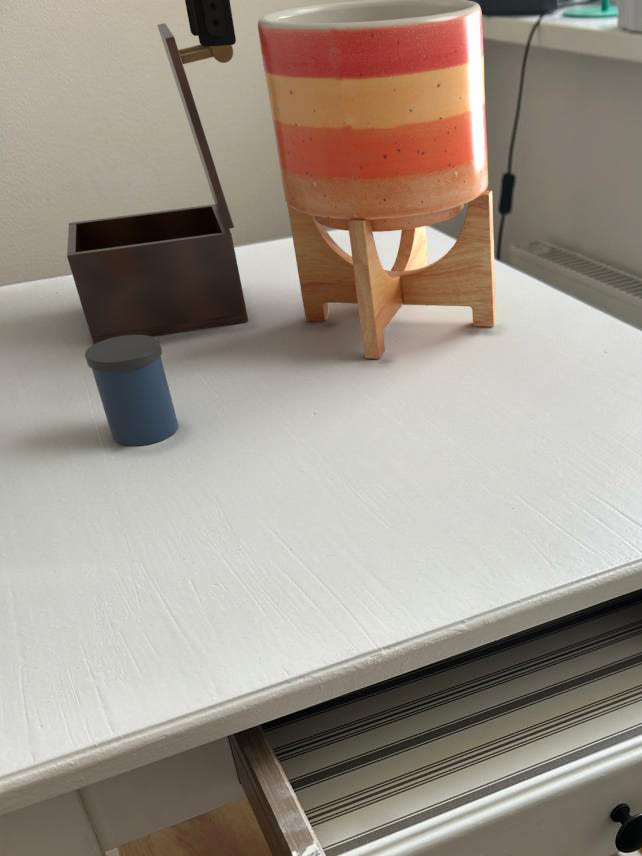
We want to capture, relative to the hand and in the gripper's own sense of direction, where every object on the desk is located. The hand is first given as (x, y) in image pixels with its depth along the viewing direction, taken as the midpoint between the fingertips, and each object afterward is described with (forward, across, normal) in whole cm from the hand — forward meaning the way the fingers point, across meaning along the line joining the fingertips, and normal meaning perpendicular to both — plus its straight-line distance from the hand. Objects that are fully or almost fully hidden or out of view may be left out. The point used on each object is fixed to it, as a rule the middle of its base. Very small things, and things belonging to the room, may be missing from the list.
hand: (213, 39), depth 92 cm
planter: (+24, +13, +13) cm, 31 cm away
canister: (+25, +29, -13) cm, 40 cm away
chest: (+25, 0, -10) cm, 26 cm away
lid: (+7, 0, -3) cm, 8 cm away
